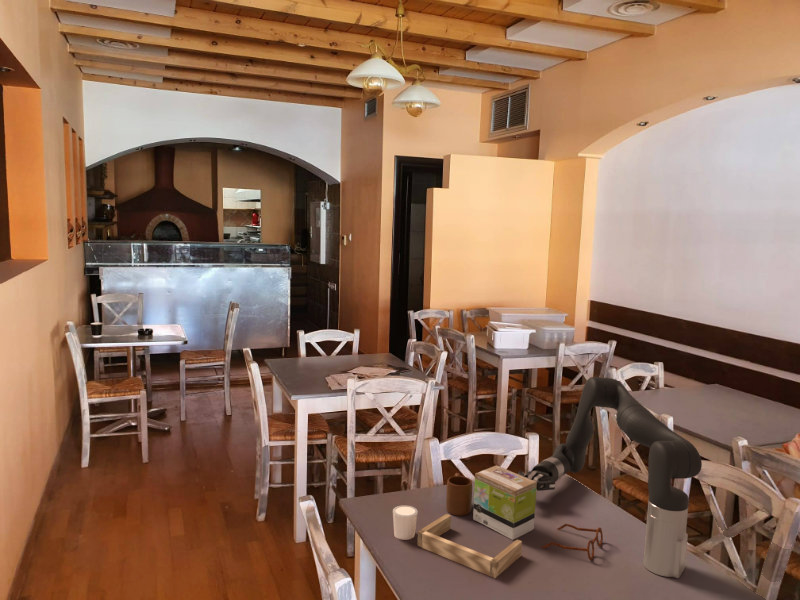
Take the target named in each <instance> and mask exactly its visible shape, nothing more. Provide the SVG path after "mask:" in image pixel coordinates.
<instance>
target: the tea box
mask: <svg viewBox="0 0 800 600" xmlns="http://www.w3.org/2000/svg"><path fill="white" fill-rule="evenodd" d="M536 487H537V482H536V481H533V480H531V479H528V478H526V477H524V476H521V475H519V474H518V473H515V472H513V471H511V470H510V469H507V468H503V467H501V466H499V465H497V464H496V465H494V466H491V467H489V468H486V469H483V470H481V471H479V472H475V474H474V494H473V512H472V513H473V516H472V519H473V521H476V522H478V523H480V524H481V525H484V526H485V527H487V528H489V529H492V530H493V531H495V532H496V533H499V534H501V535H503V536H504V537H506V538H508V539H509V540H511V541H513V540H514V541H515V539H516V540H517V539H518V538H520V537H522V536H523V535H526V534H528V533H529V532H531V531H533V530H535V528H534V527H535V517H536V516H535V515H536V501H537V489H536Z"/></svg>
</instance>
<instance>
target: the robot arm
mask: <svg viewBox="0 0 800 600" xmlns="http://www.w3.org/2000/svg"><path fill="white" fill-rule="evenodd" d="M585 381H586V382H585V384H584V386H583V388H582V392H581V395H580V399H579V402H578V406H577V410H576V414H575V418H574V421H573V423H572V426H571V427H570V430H569V432H568V434H567V436H566V439H565V443H560V444H558V445H557V446H556V447H555V449H554V451H553V454H552V455H551V456H550V457H548V458H545V459H543V460H542V461H541V462H538V463H537V464H535V465H534V467H532V469H531V470H529V471H527V472H526V473H525V472H523V470H519V471H518V473H517V474H519V475H521V476H524V477H526V478H528V479H531V480H533V481H536V482H537V487H536V492H537V491H538V492H539V491H540V492H543V491H552V490H553V491H554V490H555V489H556V482H558V481H559V480H560V479H561V478H562V477H563V476H565V475H566V474H567V473H568V472H570V473H572V474H575V473H576V474H577V473H579V472H580V471H581V470H583V468H584V466H585V462H586V456H587V454H586V453H587V449H588V445H589V443H590V442H591V439H592V438H593V434H594V428H595V427H594V424H593V420H592V417H591V411H592V408H593V407H595V408H596V407H597V408H609V409H614V410H615V411H616V415H615V417H616V418H615V419H616V425H617V426H618V427H619V429H620V430H621V431H622V432H623V433H624V434H625V435H626V437H628V438H629V440H630V439H631V440H632V441H633V442H635V443H636V444H639V445H642V446H644V447H647V448H649V451H648V452H649V453H648V465H647V466H648V473H647V476H648V477H647V489H648V503H647V504H648V505H647V516H646V524H645V525H646V526H645V539H644V549H643V550H644V553H643V563H642V564H643V566H644V567H645V568H646V570H648V571H650V572H651V573H653V574H655V575H657V576H661V577H666V578H675V579H680V577H681V576H682V573H683V572H684V571H685V569H686V568H685V567H686V559H687V557H686V556H687V547H688V537H689V536H688V535H689V533H687V525H688V524H687V523H688V512H689V504H690V499H689V495H688V494H687V492H685V491H684V490H682V489H680V488H679V487H675V486H672V481H671V480H678V479H681V480H683V479H690V478H695V477H696V476H698V475H699V474H700V473H701V471H702V466H703V465H702V464H703V462H702V458H701V455H700V453H699V451H698V449H697V448H696V447H695V446H694V444H693V443H692V442H690V441H689V440H688V439H686V438H684V437H683V436H682V435H680V434H678V433H677V432H675V431H673V430H672V429H670V428H669V427H668V426H667V425H666V424H665V423H663V422H662V421H661V420H660V419H658V418H657V417H656V416H655V415H654V414H653V413H652V412H651V411H650V410H649V409H648V408H647V407H645V406H644V405H643V404H641V402H639V401H638V400H637V399H636V398H635V397H634V396H632V394H631V393H630V392H629V391H628V390H627V389H626V387H625V386H624V385H623V384H622V383H621V382H620V380H617V379H615V378H611V377H610V378H609V377H602V376H601V377H600V376H591V377H588V379H587V380H585Z"/></svg>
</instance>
